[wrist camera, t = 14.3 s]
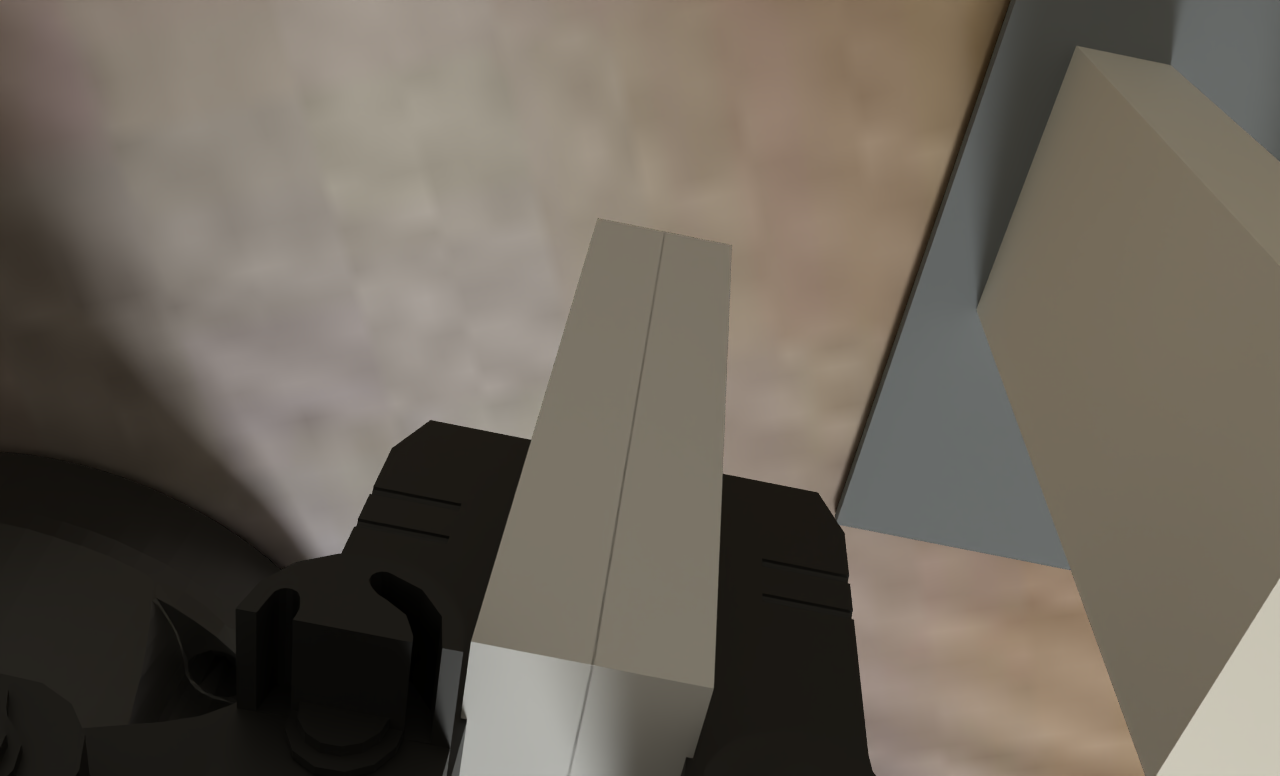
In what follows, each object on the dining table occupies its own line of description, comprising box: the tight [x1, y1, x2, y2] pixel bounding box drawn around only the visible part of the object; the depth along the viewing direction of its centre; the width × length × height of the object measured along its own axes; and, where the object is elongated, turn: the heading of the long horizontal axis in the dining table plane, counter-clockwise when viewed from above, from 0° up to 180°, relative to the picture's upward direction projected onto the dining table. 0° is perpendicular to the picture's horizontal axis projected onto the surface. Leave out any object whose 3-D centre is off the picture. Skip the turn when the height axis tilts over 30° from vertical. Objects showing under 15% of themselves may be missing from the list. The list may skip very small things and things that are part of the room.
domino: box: [976, 46, 1280, 776], centre depth 15 cm, size 2×5×11 cm, turn 170°
